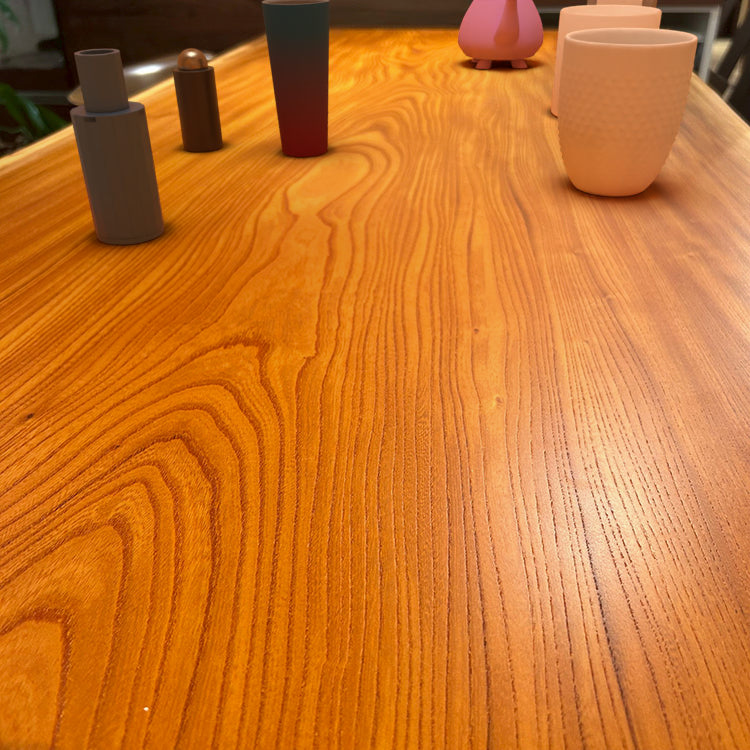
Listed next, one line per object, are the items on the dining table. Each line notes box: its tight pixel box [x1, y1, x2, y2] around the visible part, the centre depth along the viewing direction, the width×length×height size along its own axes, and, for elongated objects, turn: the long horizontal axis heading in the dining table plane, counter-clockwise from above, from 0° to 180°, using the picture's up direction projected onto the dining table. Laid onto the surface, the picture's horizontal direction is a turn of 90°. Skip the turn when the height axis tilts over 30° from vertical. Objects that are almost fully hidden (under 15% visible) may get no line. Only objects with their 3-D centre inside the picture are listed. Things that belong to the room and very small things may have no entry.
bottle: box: [69, 48, 165, 246], centre depth 61 cm, size 5×5×14 cm
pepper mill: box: [172, 47, 224, 153], centre depth 85 cm, size 4×4×10 cm
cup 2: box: [550, 4, 663, 118], centre depth 96 cm, size 12×12×12 cm
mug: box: [557, 28, 699, 197], centre depth 71 cm, size 15×11×13 cm
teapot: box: [457, 0, 544, 70], centre depth 128 cm, size 20×14×12 cm
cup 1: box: [261, 0, 330, 158], centre depth 82 cm, size 7×7×15 cm
